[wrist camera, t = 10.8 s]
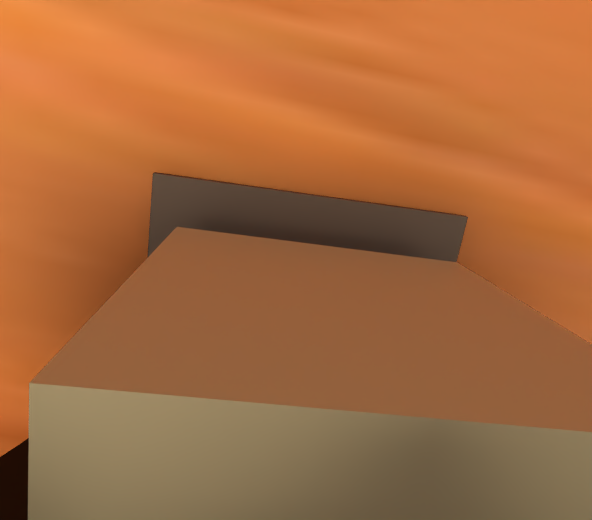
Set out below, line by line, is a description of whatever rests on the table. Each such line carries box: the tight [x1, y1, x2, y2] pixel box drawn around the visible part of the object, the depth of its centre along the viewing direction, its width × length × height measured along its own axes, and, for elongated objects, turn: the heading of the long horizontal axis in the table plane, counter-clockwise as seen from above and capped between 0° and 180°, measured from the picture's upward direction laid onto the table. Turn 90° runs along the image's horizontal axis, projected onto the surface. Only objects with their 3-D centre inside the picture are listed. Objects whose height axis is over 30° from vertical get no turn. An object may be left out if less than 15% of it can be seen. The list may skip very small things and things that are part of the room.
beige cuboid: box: [28, 227, 592, 520], centre depth 7 cm, size 7×6×6 cm
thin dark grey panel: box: [148, 173, 468, 262], centre depth 13 cm, size 8×8×1 cm
